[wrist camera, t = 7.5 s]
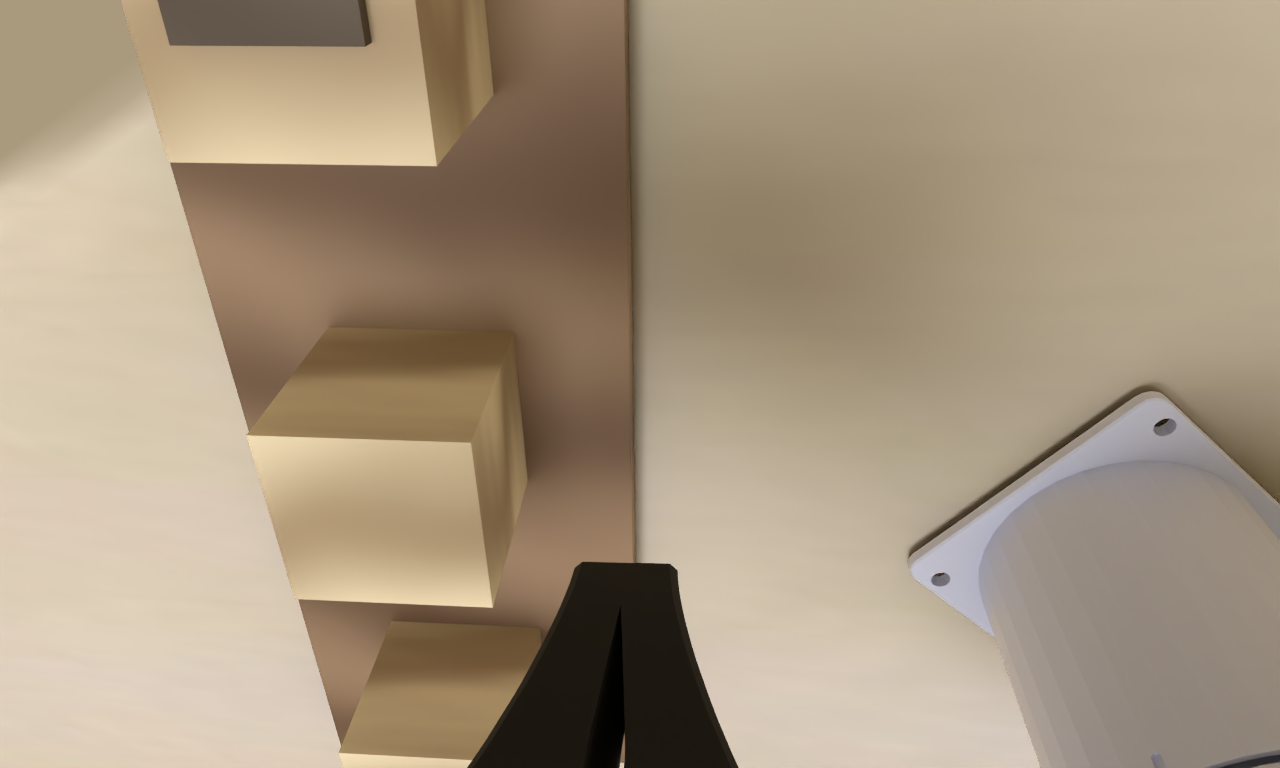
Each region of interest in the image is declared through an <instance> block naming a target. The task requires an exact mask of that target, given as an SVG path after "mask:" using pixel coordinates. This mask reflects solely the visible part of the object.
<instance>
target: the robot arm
mask: <svg viewBox="0 0 1280 768" xmlns="http://www.w3.org/2000/svg"><path fill="white" fill-rule="evenodd" d="M1163 419H1169V420H1168V421H1167V422H1166V423H1165V424H1164V425H1162V426H1159V427H1154V425H1155V424H1156V423H1157V422H1158V421H1160V420H1163ZM908 565H909V570H910V573H911V576H912V577H913V578H914V579H915V580H917V581H918V582H919V583H921V584H922V585H923V586H925V587H926V588H927V589H929V590H930V591H931V592H933V593H934V594H935V595H937V596H938V597H940V598H941V599H942V600H944V601H945V602H946V603H948V604H949V605H950V606H952V607H953V608H954V609H956V610H957V611H958V612H960V613H961V614H962V615H964V616H965V617H967V618H968V619H969V620H971V621H972V622H973V623H975V624H976V625H977V626H979V627H980V628H981V629H983V630H984V631H985V632H987V633H988V634H990V635H991V636H992V637H994V638H995V639H996V642H997V645H998V648H999V650H1000V653H1001V656H1002V659H1003V662H1004V665H1005V667H1006V670H1007V673H1008V676H1009V679H1010V682H1011V684H1012V687H1013V690H1014V693H1015V696H1016V699H1017V701H1018V704H1019V707H1020V710H1021V713H1022V716H1023V718H1024V721H1025V724H1026V727H1027V730H1028V733H1029V735H1030V738H1031V741H1032V744H1033V747H1034V750H1035V753H1036V755H1037V758H1038V761H1039V764H1040V767H1041V768H1280V504H1279V503H1278V502H1277V501H1276V500H1275V499H1274V498H1273V497H1272V496H1271V495H1270V494H1269V493H1267V492H1266V491H1265V490H1264V489H1263V488H1262V487H1261V486H1260V485H1259V484H1258V483H1257V482H1256V481H1255V480H1254V479H1253V478H1252V477H1251V476H1250V475H1248V474H1247V473H1246V472H1245V471H1244V470H1243V469H1242V468H1241V467H1240V466H1239V465H1238V464H1237V463H1236V462H1235V461H1234V460H1233V459H1232V458H1230V457H1229V456H1228V455H1227V454H1226V453H1225V452H1224V451H1223V450H1222V449H1221V448H1220V447H1219V446H1218V445H1217V444H1216V443H1215V442H1214V441H1213V440H1211V439H1210V438H1209V437H1208V436H1207V435H1206V434H1205V433H1204V432H1203V431H1202V430H1201V429H1200V428H1199V427H1198V426H1197V425H1196V424H1195V423H1193V422H1192V421H1191V420H1190V419H1189V418H1188V417H1187V416H1186V415H1185V414H1184V413H1183V412H1182V411H1181V410H1180V409H1179V408H1178V407H1177V406H1176V405H1174V404H1173V403H1172V402H1171V401H1170V400H1169V399H1168V398H1167V397H1166V396H1165V395H1163V394H1161V393H1160V392H1154V391H1149V392H1144V393H1141V394H1139V395H1137V396H1135V397H1134V398H1132V399H1131V400H1129V401H1128V402H1126V403H1125V404H1124V405H1122V406H1121V407H1119V408H1118V409H1117V410H1115V411H1114V412H1112V413H1111V414H1109V415H1108V416H1107V417H1105V418H1104V419H1102V420H1101V421H1100V422H1098V423H1097V424H1095V425H1094V426H1093V427H1091V428H1090V429H1088V430H1087V431H1085V432H1084V433H1083V434H1081V435H1080V436H1078V437H1077V438H1076V439H1074V440H1073V441H1071V442H1070V443H1069V444H1067V445H1066V446H1064V447H1063V448H1061V449H1060V450H1059V451H1057V452H1056V453H1054V454H1053V455H1052V456H1050V457H1049V458H1047V459H1046V460H1044V461H1043V462H1042V463H1040V464H1039V465H1037V466H1036V467H1035V468H1033V469H1032V470H1030V471H1029V472H1028V473H1026V474H1025V475H1023V476H1022V477H1020V478H1019V479H1018V480H1016V481H1015V482H1013V483H1012V484H1011V485H1009V486H1008V487H1006V488H1005V489H1004V490H1002V491H1001V492H999V493H998V494H996V495H995V496H994V497H992V498H991V499H989V500H988V501H987V502H985V503H984V504H982V505H981V506H979V507H978V508H977V509H975V510H974V511H972V512H971V513H970V514H968V515H967V516H965V517H964V518H963V519H961V520H960V521H958V522H957V523H955V524H954V525H953V526H951V527H950V528H948V529H947V530H946V531H944V532H943V533H941V534H940V535H939V536H937V537H936V538H934V539H933V540H931V541H930V542H929V543H927V544H926V545H924V546H923V547H922V548H920V549H919V550H917V551H916V552H914V553H913V554H912V555H911V556H910V558H909V561H908ZM937 573H945V574H944V575H941V576H934V575H935V574H937ZM624 735H625V763H624V768H738V766H737V764H736V761H735V759H734V757H733V755H732V752H731V750H730V748H729V745H728V743H727V741H726V738H725V736H724V734H723V731H722V729H721V727H720V724H719V722H718V719H717V717H716V714H715V712H714V709H713V706H712V704H711V701H710V698H709V696H708V693H707V690H706V687H705V684H704V681H703V679H702V676H701V673H700V670H699V667H698V664H697V661H696V658H695V655H694V652H693V648H692V645H691V642H690V638H689V634H688V630H687V627H686V623H685V619H684V614H683V610H682V605H681V600H680V594H679V586H678V572H677V570H676V569H675V568H674V567H673V566H672V565H670V564H654V563H616V562H581V563H580V564H579V565H578V566H576V567H575V569H574V572H573V575H572V578H571V581H570V584H569V586H568V589H567V591H566V594H565V596H564V599H563V601H562V603H561V606H560V608H559V610H558V612H557V615H556V617H555V619H554V621H553V623H552V625H551V627H550V629H549V631H548V633H547V635H546V637H545V639H544V641H543V643H542V645H541V647H540V649H539V651H538V653H537V654H536V656H535V658H534V660H533V662H532V664H531V666H530V667H529V669H528V671H527V673H526V675H525V677H524V678H523V680H522V682H521V684H520V686H519V687H518V689H517V691H516V692H515V694H514V696H513V697H512V699H511V701H510V702H509V704H508V705H507V707H506V709H505V710H504V712H503V713H502V715H501V717H500V718H499V720H498V721H497V723H496V725H495V726H494V728H493V729H492V731H491V733H490V734H489V736H488V738H487V739H486V741H485V742H484V744H483V745H482V747H481V748H480V750H479V751H478V752H477V754H476V755H475V757H474V758H473V760H472V761H471V763H470V764H469V766H468V767H467V768H619V766H620V759H621V752H622V745H623V739H624Z"/></svg>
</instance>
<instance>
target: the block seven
mask: <svg viewBox="0 0 1280 768" xmlns="http://www.w3.org/2000/svg"><path fill="white" fill-rule="evenodd" d="M541 645H542V644H541V634H540V628H534V627H512V626H490V625H468V624H446V623H423V622H401V621H391V623H390V626H389V628H388V631H387V633H386V636H385V638H384V641H383V643H382V646H381V648H380V651H379V653H378V656H377V658H376V661H375V663H374V666H373V668H372V671H371V673H370V676H369V678H368V681H367V683H366V686H365V688H364V691H363V693H362V696H361V698H360V701H359V703H358V706H357V708H356V711H355V713H354V716H353V718H352V721H351V723H350V726H349V728H348V731H347V733H346V736H345V738H344V741H343V743H342V746H341V748H340V751H339V756H340V759H341V762H342V766H343V768H467V767H468V766H469V764H470V763H471V761H472V760H473V758H474V757H475V755H476V754H477V752H478V751H479V750H480V748H481V747H482V745H483V744H484V742H485V741H486V739H487V738H488V736H489V734H490V733H491V731H492V729H493V728H494V726H495V725H496V723H497V721H498V720H499V718H500V717H501V715H502V713H503V712H504V710H505V709H506V707H507V705H508V704H509V702H510V701H511V699H512V697H513V696H514V694H515V692H516V691H517V689H518V687H519V686H520V684H521V682H522V680H523V678H524V677H525V675H526V673H527V671H528V669H529V667H530V666H531V664H532V662H533V660H534V658H535V656H536V654H537V653H538V651H539V649H540V647H541Z"/></svg>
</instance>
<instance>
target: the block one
mask: <svg viewBox="0 0 1280 768" xmlns="http://www.w3.org/2000/svg"><path fill="white" fill-rule="evenodd" d="M121 3H122V7H123V10H124V14H125V17H126V21H127V24H128V27H129V31H130V34H131V37H132V41H133V44H134V47H135V51H136V54H137V58H138V61H139V65H140V68H141V71H142V75H143V78H144V82H145V85H146V88H147V92H148V95H149V99H150V102H151V105H152V109H153V112H154V116H155V119H156V122H157V126H158V129H159V133H160V136H161V139H162V143H163V146H164V150H165V153H166V156H167V160H168V162H174V163H245V164H316V165H387V166H437V165H438V164H439V163H440V162H441V160H442V159H443V158H444V157H445V155H446V154H447V153H448V152H449V150H450V149H451V148H452V147H453V145H454V144H455V143H456V142H457V140H458V139H459V138H460V137H461V135H462V134H463V133H464V132H465V130H466V129H467V128H468V127H469V125H470V124H471V123H472V122H473V120H474V119H475V118H476V117H477V115H478V114H479V113H480V112H481V110H482V109H483V108H484V107H485V105H486V104H487V103H488V102H489V100H490V99H491V98H492V97H493V95H494V94H493V83H492V72H491V61H490V51H489V40H488V29H487V18H486V7H485V0H121Z"/></svg>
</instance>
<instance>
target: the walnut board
mask: <svg viewBox="0 0 1280 768" xmlns="http://www.w3.org/2000/svg"><path fill="white" fill-rule="evenodd" d="M485 7H486V18H487V29H488V40H489V51H490V61H491V72H492V83H493V94H494V95H493V97H492V98H491V99H490V100H489V102H488V103H487V104H486V105H485V107H484V108H483V109H482V110H481V112H480V113H479V114H478V115H477V117H476V118H475V119H474V120H473V122H472V123H471V124H470V125H469V127H468V128H467V129H466V130H465V132H464V133H463V134H462V135H461V137H460V138H459V139H458V140H457V142H456V143H455V144H454V145H453V147H452V148H451V149H450V150H449V152H448V153H447V154H446V155H445V157H444V158H443V159H442V160H441V162H440V163H439V164H438V165H437V166H387V165H316V164H245V163H174V162H170V164H171V167H172V170H173V174H174V177H175V181H176V184H177V188H178V191H179V194H180V198H181V201H182V205H183V208H184V211H185V215H186V218H187V222H188V225H189V228H190V232H191V235H192V239H193V242H194V245H195V249H196V252H197V256H198V259H199V263H200V266H201V269H202V273H203V276H204V280H205V283H206V286H207V290H208V293H209V297H210V300H211V303H212V307H213V310H214V314H215V317H216V320H217V324H218V327H219V331H220V334H221V338H222V341H223V344H224V348H225V351H226V355H227V358H228V361H229V365H230V368H231V372H232V375H233V378H234V382H235V385H236V389H237V392H238V395H239V399H240V402H241V406H242V409H243V413H244V416H245V419H246V423H247V426H248V430H249V431H250V430H251V429H252V427H253V426H254V425H255V423H256V422H257V421H258V419H259V418H260V417H261V415H262V414H263V413H264V411H265V410H266V409H267V408H268V406H269V405H270V404H271V402H272V401H273V400H274V398H275V397H276V396H277V394H278V393H279V392H280V390H281V389H282V388H283V386H284V385H285V384H286V382H287V381H288V380H289V379H290V377H291V376H292V375H293V373H294V372H295V371H296V369H297V368H298V367H299V365H300V364H301V363H302V361H303V360H304V359H305V357H306V356H307V355H308V353H309V352H310V351H311V350H312V348H313V347H314V346H315V344H316V343H317V342H318V340H319V339H320V338H321V336H322V335H323V334H324V332H325V331H326V330H327V328H328V327H345V328H384V329H424V330H464V331H503V332H514V341H515V351H516V362H517V373H518V383H519V394H520V405H521V415H522V426H523V436H524V447H525V458H526V468H527V479H528V482H527V486H526V489H525V493H524V497H523V500H522V504H521V508H520V511H519V515H518V518H517V522H516V526H515V529H514V533H513V536H512V540H511V544H510V547H509V551H508V555H507V558H506V562H505V565H504V569H503V573H502V576H501V580H500V584H499V587H498V591H497V594H496V598H495V602H494V605H493V608H487V607H465V606H442V605H419V604H396V603H373V602H350V601H328V600H305V599H298V600H299V603H300V607H301V610H302V614H303V617H304V620H305V624H306V627H307V631H308V634H309V638H310V641H311V644H312V648H313V651H314V655H315V658H316V661H317V665H318V668H319V672H320V675H321V678H322V682H323V685H324V689H325V692H326V695H327V699H328V702H329V706H330V709H331V713H332V716H333V719H334V723H335V726H336V730H337V733H338V736H339V740H340V743H341V746H342V743H343V741H344V738H345V736H346V733H347V731H348V728H349V726H350V723H351V721H352V718H353V716H354V713H355V711H356V708H357V706H358V703H359V701H360V698H361V696H362V693H363V691H364V688H365V686H366V683H367V681H368V678H369V676H370V673H371V671H372V668H373V666H374V663H375V661H376V658H377V656H378V653H379V651H380V648H381V646H382V643H383V641H384V638H385V636H386V633H387V631H388V628H389V626H390V623H391V621H401V622H423V623H446V624H468V625H490V626H512V627H534V628H540V634H541V644H542V643H543V641H544V639H545V637H546V635H547V633H548V631H549V629H550V627H551V625H552V623H553V621H554V619H555V617H556V615H557V612H558V610H559V608H560V606H561V603H562V601H563V599H564V596H565V594H566V591H567V589H568V586H569V584H570V581H571V578H572V575H573V572H574V569H575V567H576V566H578V565H579V564H580V563H581V562H616V563H636V559H635V485H634V412H633V338H632V264H631V191H630V117H629V43H628V0H485ZM620 762H622V763H625V735H624V739H623V745H622V752H621V759H620Z"/></svg>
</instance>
